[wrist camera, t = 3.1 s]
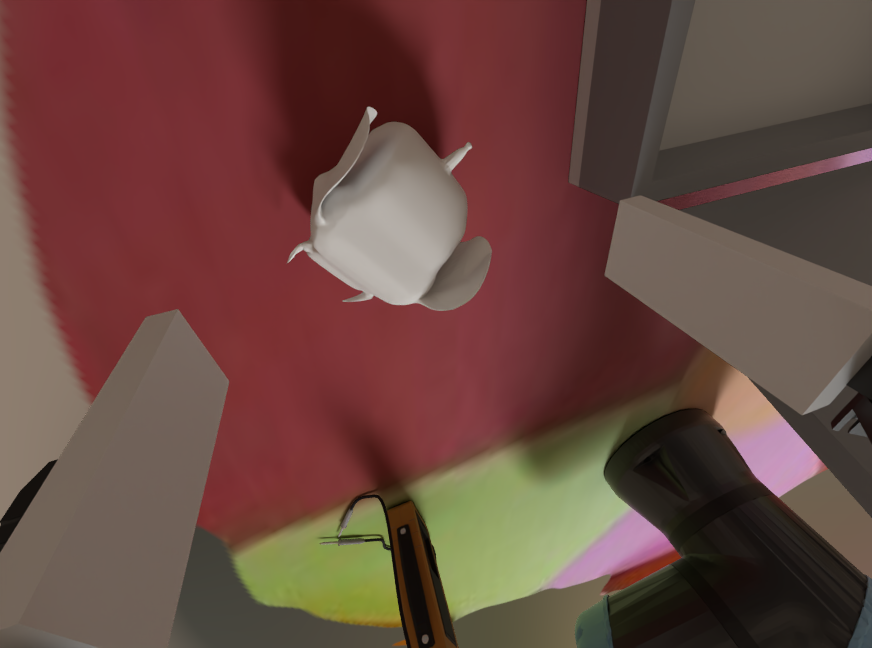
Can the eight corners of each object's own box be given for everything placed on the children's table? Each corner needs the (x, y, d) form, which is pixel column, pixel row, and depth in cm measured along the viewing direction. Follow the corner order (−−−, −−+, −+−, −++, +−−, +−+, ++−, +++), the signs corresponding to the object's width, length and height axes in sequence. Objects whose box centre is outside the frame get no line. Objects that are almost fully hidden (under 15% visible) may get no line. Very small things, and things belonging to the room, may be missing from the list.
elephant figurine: (249, 219, 17) (221, 291, 12) (386, 57, 15) (432, 49, 10) (367, 304, 22) (387, 384, 16) (485, 187, 20) (555, 234, 14)
